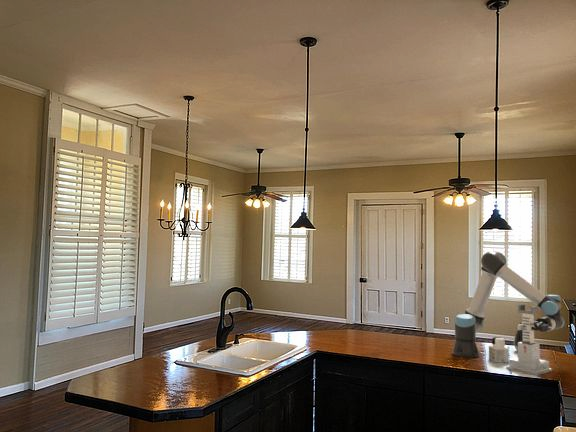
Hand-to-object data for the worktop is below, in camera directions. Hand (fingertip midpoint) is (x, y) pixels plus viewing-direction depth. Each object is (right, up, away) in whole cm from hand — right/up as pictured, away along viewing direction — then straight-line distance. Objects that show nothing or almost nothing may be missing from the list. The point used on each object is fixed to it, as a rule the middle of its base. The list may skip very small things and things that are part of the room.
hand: (522, 328), depth 242 cm
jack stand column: (+4, -19, +2) cm, 20 cm away
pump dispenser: (+22, -25, +43) cm, 55 cm away
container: (-3, -24, +20) cm, 32 cm away
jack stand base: (+4, -23, +2) cm, 23 cm away
